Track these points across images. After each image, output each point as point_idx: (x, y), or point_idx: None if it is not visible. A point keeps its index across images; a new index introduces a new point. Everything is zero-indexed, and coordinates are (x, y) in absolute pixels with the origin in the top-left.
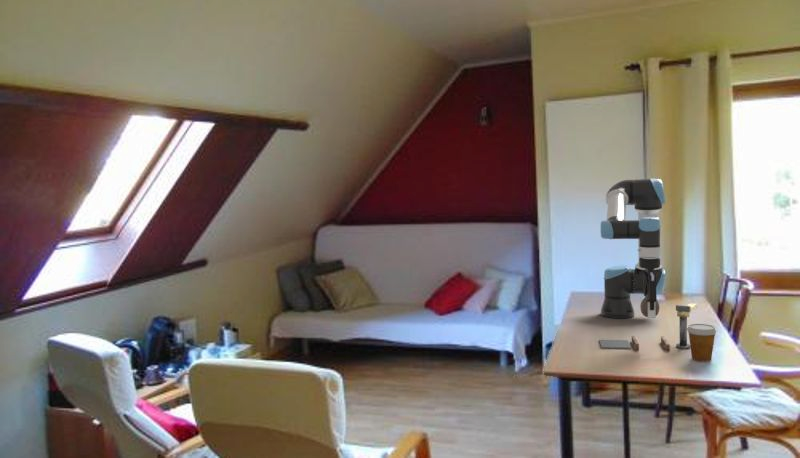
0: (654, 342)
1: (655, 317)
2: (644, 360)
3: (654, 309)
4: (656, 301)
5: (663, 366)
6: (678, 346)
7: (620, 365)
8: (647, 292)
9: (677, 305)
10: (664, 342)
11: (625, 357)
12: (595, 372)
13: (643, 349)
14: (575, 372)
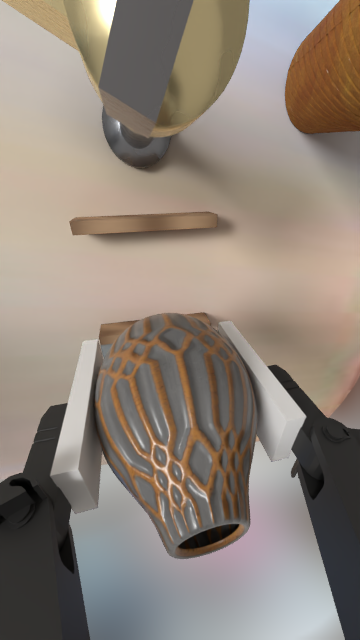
0: (84, 256)
1: (233, 324)
2: (296, 300)
3: (259, 365)
4: (235, 403)
5: (355, 256)
6: (159, 159)
7: (320, 348)
8: (71, 583)
9: (163, 88)
10: (164, 229)
11: (266, 342)
12: (347, 381)
13: (190, 299)
14: (337, 404)
